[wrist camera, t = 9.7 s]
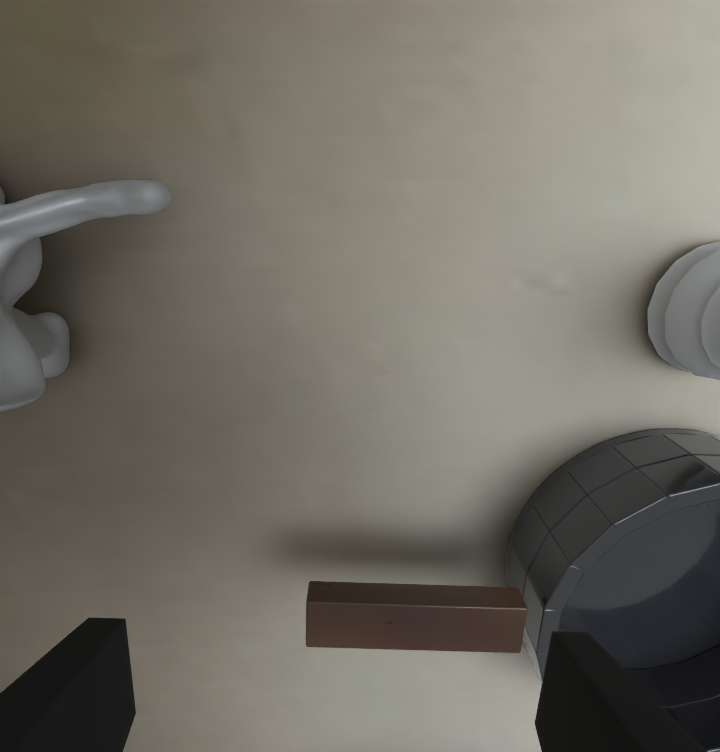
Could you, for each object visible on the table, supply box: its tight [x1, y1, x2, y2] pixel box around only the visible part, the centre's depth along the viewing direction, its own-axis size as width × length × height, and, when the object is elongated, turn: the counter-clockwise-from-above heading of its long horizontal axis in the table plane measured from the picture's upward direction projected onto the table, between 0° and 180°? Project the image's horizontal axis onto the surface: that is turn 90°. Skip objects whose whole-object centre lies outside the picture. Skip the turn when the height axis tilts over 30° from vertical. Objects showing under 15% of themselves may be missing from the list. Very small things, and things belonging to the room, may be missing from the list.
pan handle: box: [306, 581, 527, 653], centre depth 17 cm, size 2×7×1 cm, turn 87°
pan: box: [505, 429, 720, 752], centre depth 18 cm, size 11×11×4 cm
